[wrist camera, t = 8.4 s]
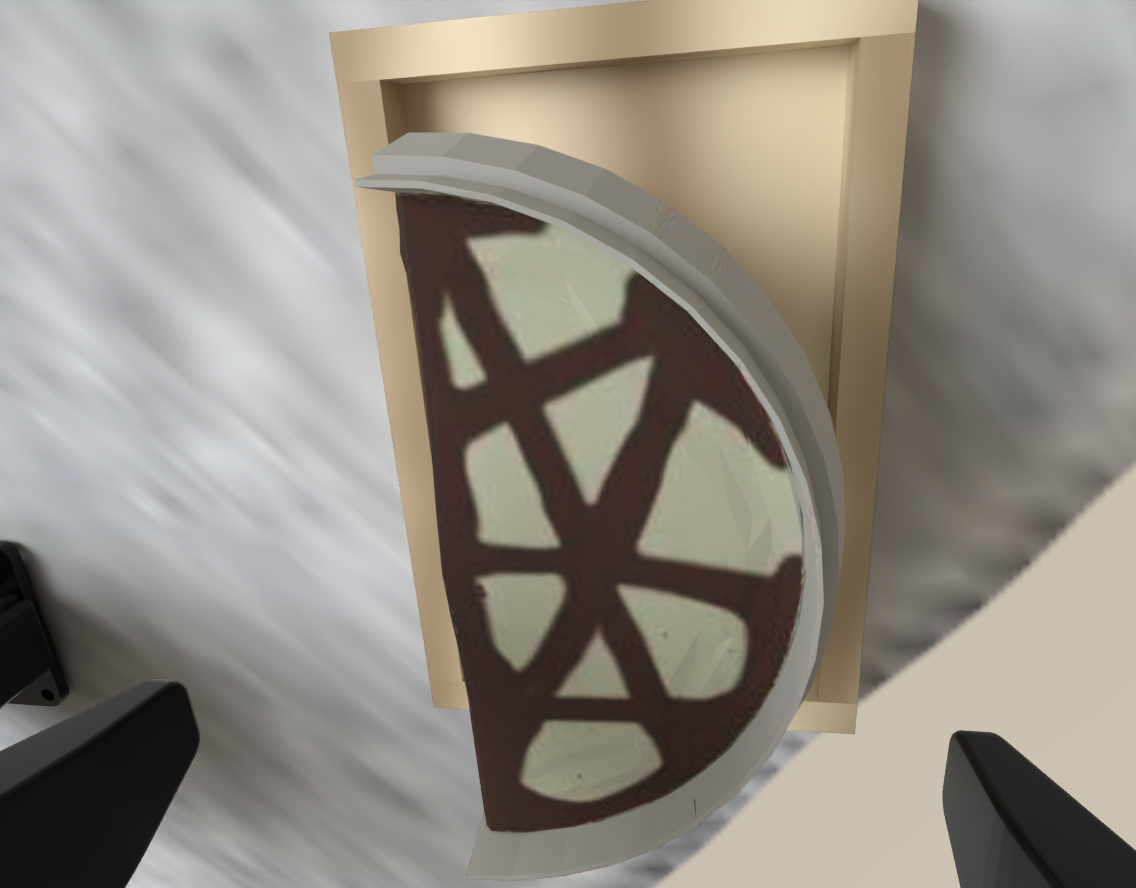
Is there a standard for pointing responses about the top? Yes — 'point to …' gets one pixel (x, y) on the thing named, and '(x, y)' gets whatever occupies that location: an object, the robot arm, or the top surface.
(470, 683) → the food container
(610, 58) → the wooden tray
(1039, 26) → the top surface
